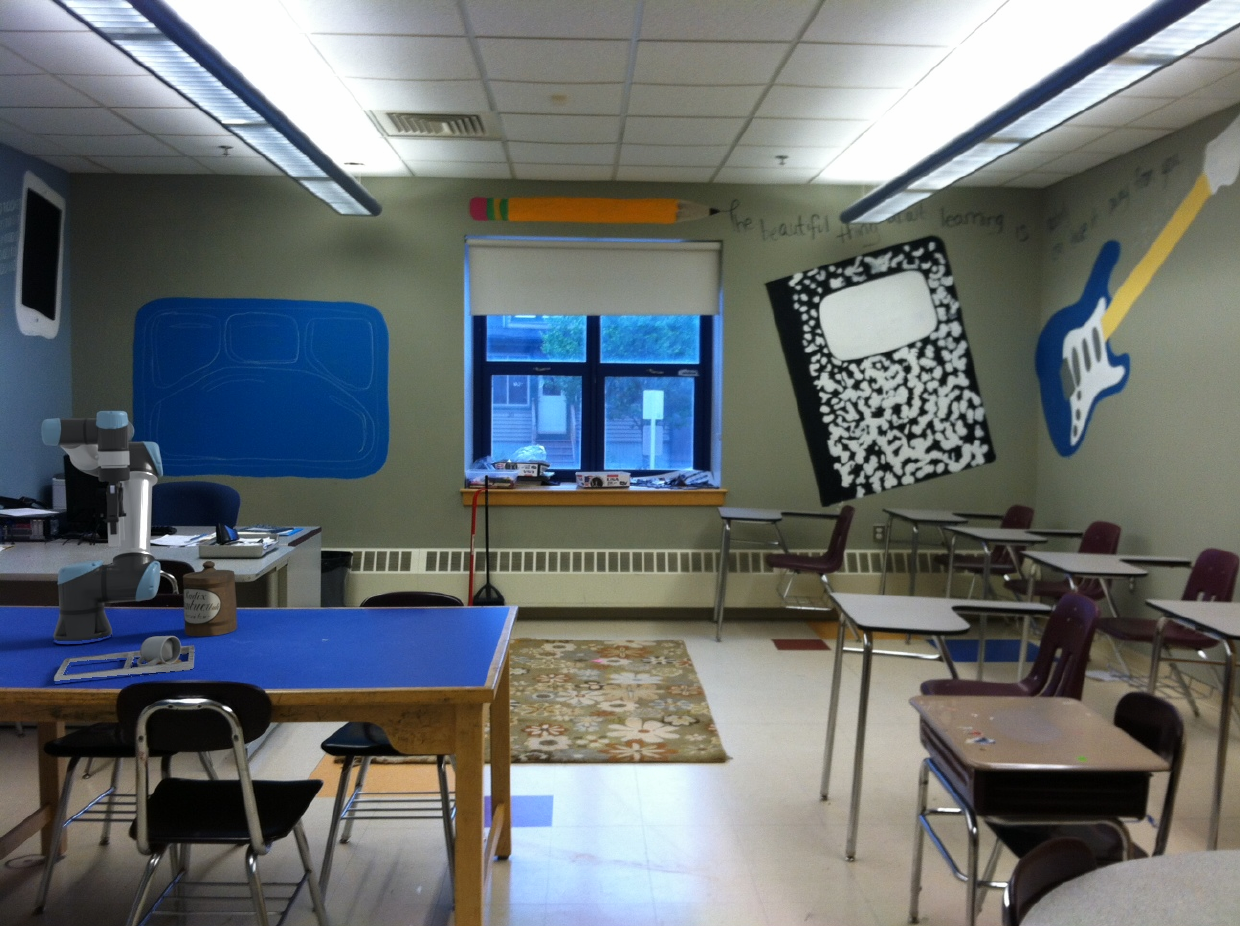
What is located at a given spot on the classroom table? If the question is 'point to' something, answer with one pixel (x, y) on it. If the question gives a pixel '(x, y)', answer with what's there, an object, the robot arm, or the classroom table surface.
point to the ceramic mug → (159, 650)
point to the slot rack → (126, 665)
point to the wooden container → (209, 602)
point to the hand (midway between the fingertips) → (116, 543)
